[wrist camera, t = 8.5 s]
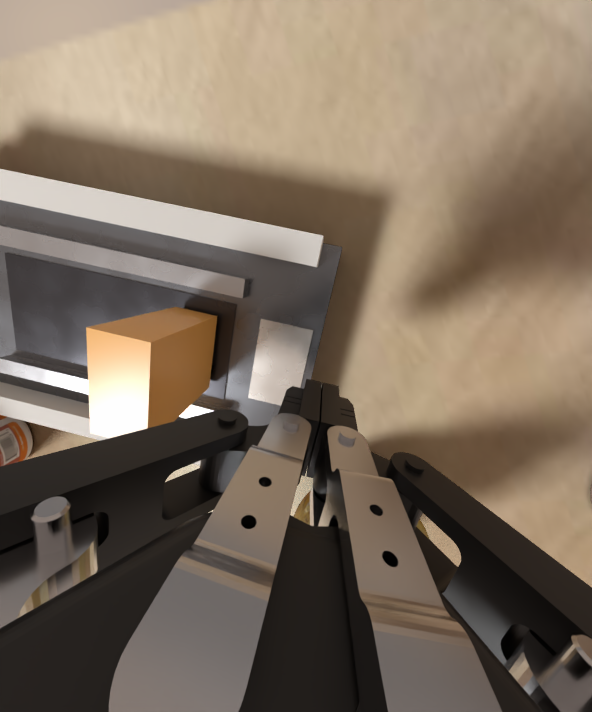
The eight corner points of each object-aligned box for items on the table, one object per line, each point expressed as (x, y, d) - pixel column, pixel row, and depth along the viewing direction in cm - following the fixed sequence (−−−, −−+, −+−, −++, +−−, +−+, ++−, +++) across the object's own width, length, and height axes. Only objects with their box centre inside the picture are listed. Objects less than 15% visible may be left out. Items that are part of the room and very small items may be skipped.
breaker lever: (217, 316, 15) (150, 342, 10) (209, 387, 17) (146, 447, 11) (176, 306, 15) (85, 327, 10) (171, 378, 17) (90, 433, 11)
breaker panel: (340, 251, 17) (343, 245, 13) (294, 442, 21) (287, 477, 18) (-21, 175, 18) (-109, 151, 14) (6, 371, 22) (-57, 390, 19)
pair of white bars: (323, 239, 14) (323, 235, 13) (274, 468, 18) (270, 483, 17) (-71, 157, 15) (-110, 145, 14) (-28, 392, 20) (-54, 401, 18)
